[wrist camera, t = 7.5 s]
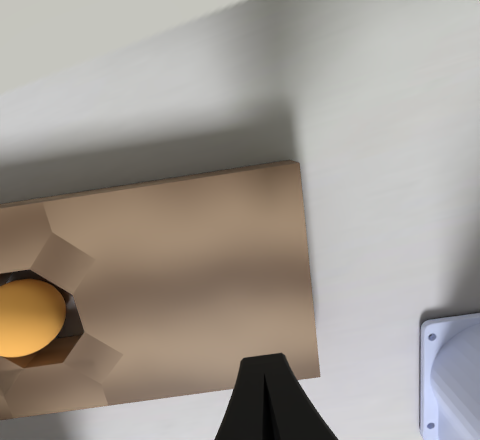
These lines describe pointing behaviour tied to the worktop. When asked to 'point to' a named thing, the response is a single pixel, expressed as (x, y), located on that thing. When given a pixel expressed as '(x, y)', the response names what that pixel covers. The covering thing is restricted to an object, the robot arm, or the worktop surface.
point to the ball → (29, 316)
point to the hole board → (163, 287)
